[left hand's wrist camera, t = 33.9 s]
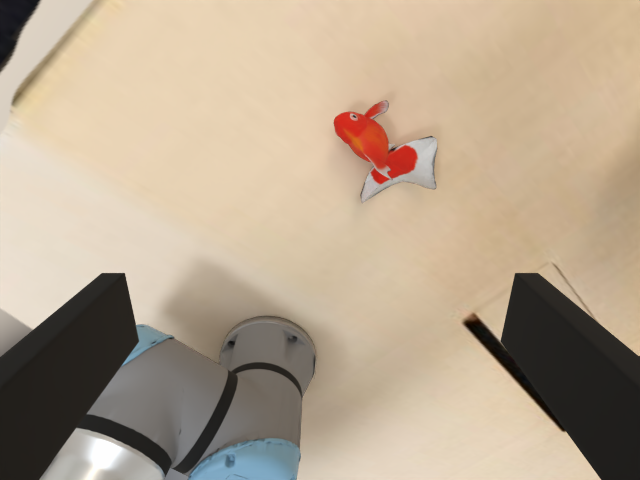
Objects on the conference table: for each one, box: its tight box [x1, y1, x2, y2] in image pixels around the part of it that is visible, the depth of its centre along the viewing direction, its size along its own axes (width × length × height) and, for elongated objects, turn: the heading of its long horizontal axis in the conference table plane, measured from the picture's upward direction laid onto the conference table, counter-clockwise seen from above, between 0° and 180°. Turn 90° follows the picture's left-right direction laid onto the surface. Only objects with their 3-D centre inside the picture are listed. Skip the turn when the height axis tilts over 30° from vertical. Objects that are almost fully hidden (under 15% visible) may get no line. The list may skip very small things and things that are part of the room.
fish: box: [334, 101, 437, 203], centre depth 45 cm, size 11×16×10 cm
